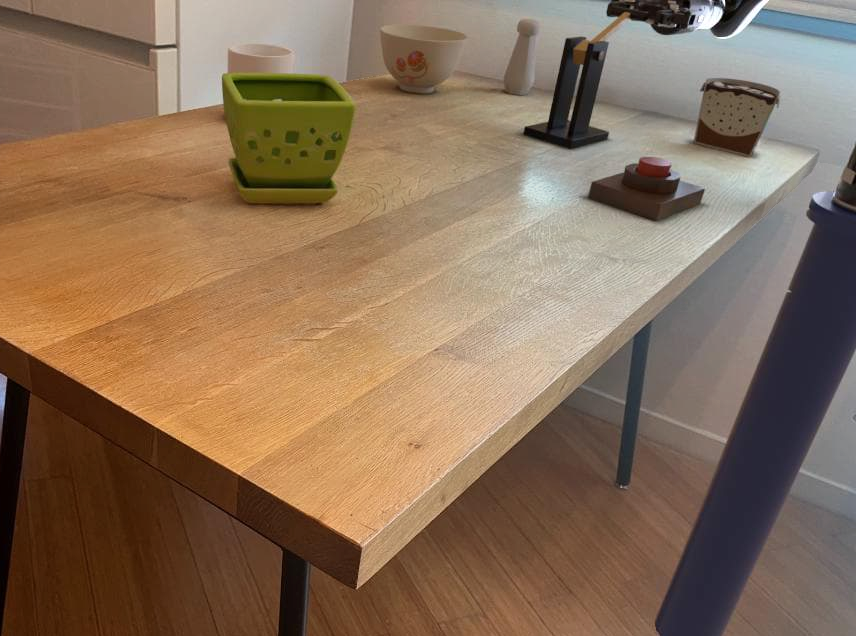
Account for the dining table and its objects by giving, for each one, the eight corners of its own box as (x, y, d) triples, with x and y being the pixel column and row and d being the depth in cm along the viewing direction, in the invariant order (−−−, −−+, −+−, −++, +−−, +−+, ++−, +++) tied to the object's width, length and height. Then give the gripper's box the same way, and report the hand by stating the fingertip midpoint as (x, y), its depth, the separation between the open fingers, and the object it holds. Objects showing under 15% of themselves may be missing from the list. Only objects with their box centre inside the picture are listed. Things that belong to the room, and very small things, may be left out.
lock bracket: (560, 126, 146) (581, 32, 139) (607, 139, 141) (631, 43, 133) (522, 134, 140) (542, 36, 132) (570, 149, 134) (593, 48, 127)
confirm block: (633, 183, 122) (641, 154, 119) (700, 204, 116) (709, 174, 114) (587, 197, 114) (594, 167, 112) (656, 221, 108) (665, 190, 106)
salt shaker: (529, 97, 163) (544, 23, 156) (499, 93, 165) (512, 19, 158) (533, 91, 168) (548, 19, 161) (504, 87, 170) (517, 15, 163)
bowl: (357, 86, 161) (362, 28, 156) (406, 76, 172) (412, 22, 166) (428, 104, 153) (436, 44, 147) (475, 93, 163) (484, 36, 158)
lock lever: (615, 15, 140) (615, 1, 138) (648, 22, 137) (649, 7, 135) (562, 60, 136) (562, 46, 134) (596, 68, 132) (596, 53, 130)
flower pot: (218, 173, 111) (219, 70, 105) (323, 174, 114) (331, 74, 108) (232, 211, 100) (234, 98, 93) (348, 211, 103) (359, 102, 96)
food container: (771, 152, 142) (794, 89, 137) (759, 159, 138) (782, 94, 132) (698, 135, 148) (716, 74, 143) (684, 140, 144) (703, 78, 139)
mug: (262, 132, 130) (265, 59, 124) (213, 117, 134) (214, 47, 129) (313, 118, 138) (318, 50, 133) (265, 105, 143) (268, 39, 138)
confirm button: (645, 167, 115) (649, 154, 115) (673, 176, 113) (677, 163, 112) (630, 172, 113) (634, 159, 112) (658, 181, 111) (662, 167, 110)
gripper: (649, -20, 150) (600, -19, 140) (728, -8, 142) (681, -5, 132) (638, 26, 154) (588, 31, 144) (713, 41, 146) (667, 47, 136)
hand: (633, 14), depth 138 cm, fingers open, 8 cm apart
